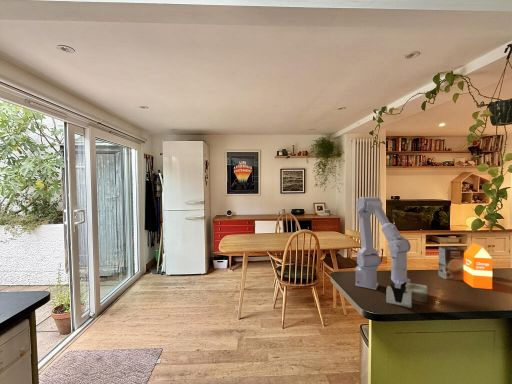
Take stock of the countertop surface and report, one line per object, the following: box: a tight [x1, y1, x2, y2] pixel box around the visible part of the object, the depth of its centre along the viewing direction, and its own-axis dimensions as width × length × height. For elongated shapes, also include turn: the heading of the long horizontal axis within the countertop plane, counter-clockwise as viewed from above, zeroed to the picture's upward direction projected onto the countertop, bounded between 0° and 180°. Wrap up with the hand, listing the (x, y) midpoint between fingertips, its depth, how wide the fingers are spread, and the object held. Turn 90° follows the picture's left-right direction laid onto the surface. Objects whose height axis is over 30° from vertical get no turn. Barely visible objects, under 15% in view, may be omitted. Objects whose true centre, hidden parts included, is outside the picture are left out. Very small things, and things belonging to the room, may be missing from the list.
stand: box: [405, 282, 428, 304], centre depth 112 cm, size 12×10×4 cm
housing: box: [385, 285, 413, 309], centre depth 105 cm, size 9×5×6 cm, turn 56°
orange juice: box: [463, 242, 493, 290], centre depth 124 cm, size 8×9×20 cm
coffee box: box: [437, 246, 465, 281], centre depth 134 cm, size 9×6×16 cm
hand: (398, 299), depth 105 cm, fingers closed on housing, 5 cm apart
